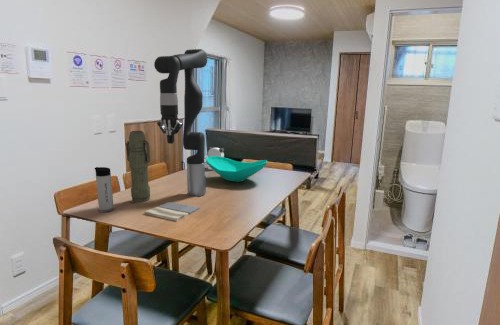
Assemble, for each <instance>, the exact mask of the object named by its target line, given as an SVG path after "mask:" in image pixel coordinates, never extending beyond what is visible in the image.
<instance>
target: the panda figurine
mask: <svg viewBox="0 0 500 325" xmlns="http://www.w3.org/2000/svg"><path fill="white" fill-rule="evenodd" d="M207 151H208V152H207V157H210V156H219V157H224V158H225V153H224V151H225V148H224V147H221V148H219V147H213V146H210V147H209V146H208V147H207ZM207 170H211V171H214V170H213V169H212V168H211V167H210V166H208V167H207Z"/></svg>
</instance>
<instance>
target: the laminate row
mask: <svg viewBox="0 0 500 325" xmlns="http://www.w3.org/2000/svg"><path fill="white" fill-rule="evenodd" d="M157 207H160V208H165V209H170V210H175V211H180V212H185V213H189V215H191V214H193V213H195V212H197V211H199V210H200V209H201V207H200V206H194V205H187V204H184V203H183V204H182V203H178V202H172V201H167V202H164V203H163V204H160V205H158V206H157Z"/></svg>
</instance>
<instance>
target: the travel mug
mask: <svg viewBox="0 0 500 325" xmlns="http://www.w3.org/2000/svg"><path fill="white" fill-rule="evenodd" d="M94 170H95V180H96V181H95V182H96V192H97V193H96V194H97V202H98V211H99V212H101V213H107V212H111V211H113V210H114V207H115V206H114V195H113V185H112V184H113V182H112V175H111V174H112V173H111V168H110V167H105V166H103V167H102V166H100V167H99V166H96V167H94Z"/></svg>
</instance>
